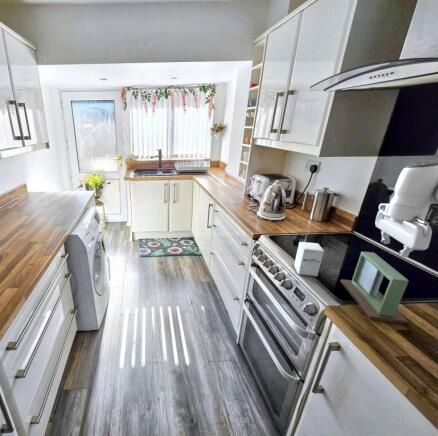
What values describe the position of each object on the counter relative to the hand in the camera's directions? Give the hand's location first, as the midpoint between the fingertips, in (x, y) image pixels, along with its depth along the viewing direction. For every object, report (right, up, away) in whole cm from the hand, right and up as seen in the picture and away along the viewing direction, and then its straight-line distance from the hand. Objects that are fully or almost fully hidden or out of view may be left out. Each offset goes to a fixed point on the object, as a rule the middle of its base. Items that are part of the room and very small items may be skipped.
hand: (393, 249), depth 84 cm
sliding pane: (-2, -16, +4) cm, 16 cm away
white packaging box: (-17, -13, +22) cm, 30 cm away
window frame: (-5, -19, +3) cm, 20 cm away
